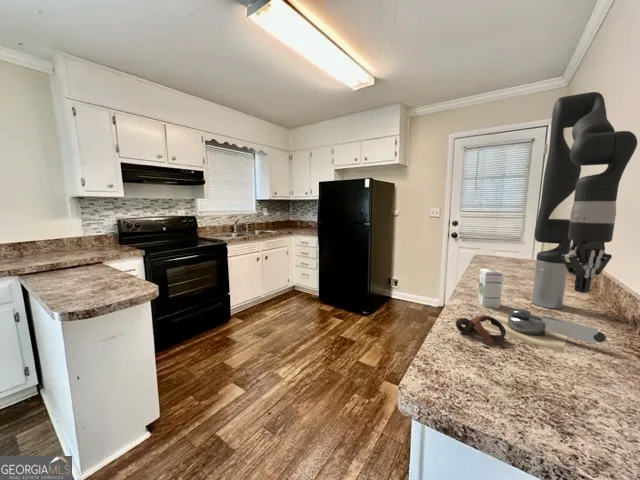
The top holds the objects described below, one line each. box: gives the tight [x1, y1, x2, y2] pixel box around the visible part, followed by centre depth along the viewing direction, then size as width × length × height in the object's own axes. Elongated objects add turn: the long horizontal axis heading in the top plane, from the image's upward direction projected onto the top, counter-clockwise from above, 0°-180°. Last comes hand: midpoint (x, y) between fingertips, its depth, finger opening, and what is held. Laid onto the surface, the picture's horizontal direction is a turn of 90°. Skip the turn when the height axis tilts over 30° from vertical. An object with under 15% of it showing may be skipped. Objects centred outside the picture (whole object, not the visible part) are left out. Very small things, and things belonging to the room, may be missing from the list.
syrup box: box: [477, 268, 504, 309], centre depth 100 cm, size 6×6×14 cm
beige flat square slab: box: [483, 312, 569, 353], centre depth 80 cm, size 18×18×2 cm
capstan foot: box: [508, 308, 607, 345], centre depth 76 cm, size 21×9×5 cm, turn 43°
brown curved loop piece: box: [455, 315, 506, 350], centre depth 76 cm, size 12×10×8 cm
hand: (581, 291), depth 66 cm, fingers closed
